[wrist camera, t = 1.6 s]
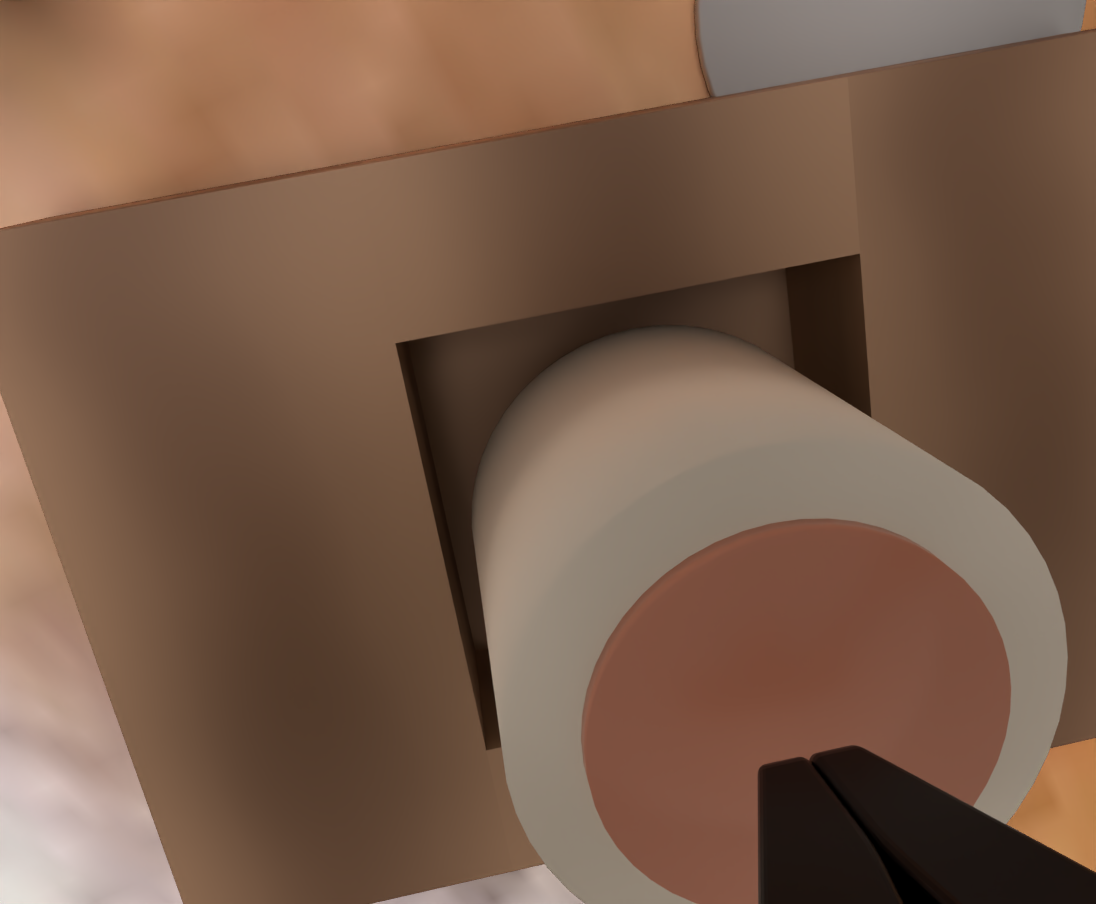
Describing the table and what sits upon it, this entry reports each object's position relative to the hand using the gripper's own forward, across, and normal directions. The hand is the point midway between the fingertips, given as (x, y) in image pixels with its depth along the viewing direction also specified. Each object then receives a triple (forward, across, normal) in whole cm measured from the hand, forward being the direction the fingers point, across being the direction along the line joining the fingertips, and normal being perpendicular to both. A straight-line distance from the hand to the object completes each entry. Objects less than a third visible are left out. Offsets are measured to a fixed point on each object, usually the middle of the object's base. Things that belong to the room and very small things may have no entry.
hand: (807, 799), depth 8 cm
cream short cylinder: (+8, 0, +1) cm, 8 cm away
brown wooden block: (+12, 0, +1) cm, 12 cm away
